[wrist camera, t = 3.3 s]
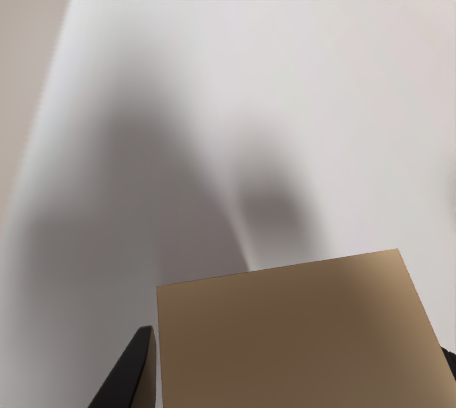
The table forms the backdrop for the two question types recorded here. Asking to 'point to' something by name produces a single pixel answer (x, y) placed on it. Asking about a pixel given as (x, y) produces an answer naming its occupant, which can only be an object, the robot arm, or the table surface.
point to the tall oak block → (302, 339)
